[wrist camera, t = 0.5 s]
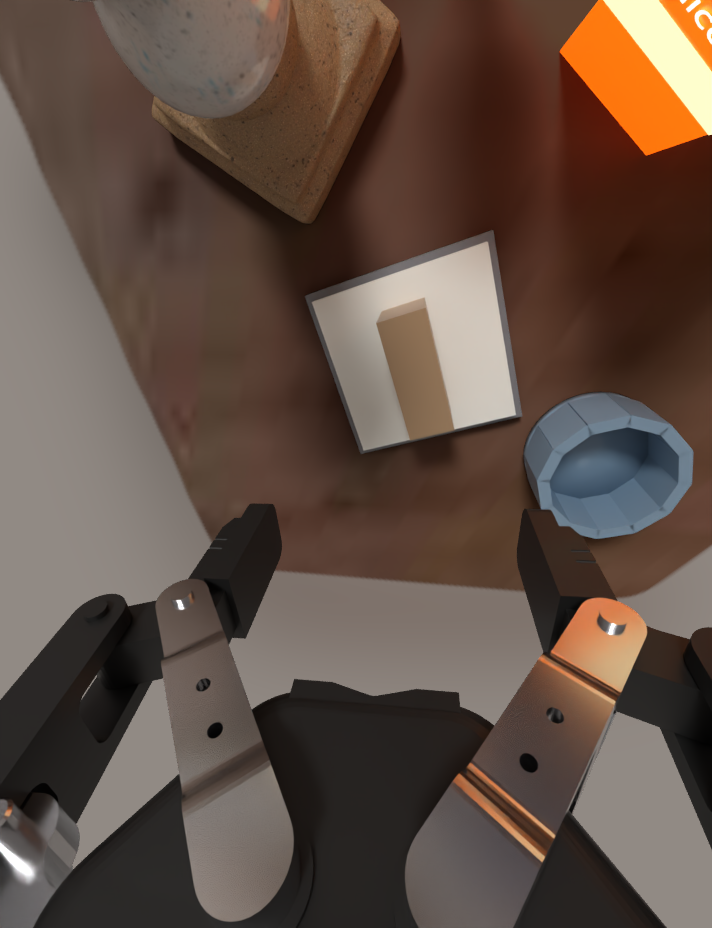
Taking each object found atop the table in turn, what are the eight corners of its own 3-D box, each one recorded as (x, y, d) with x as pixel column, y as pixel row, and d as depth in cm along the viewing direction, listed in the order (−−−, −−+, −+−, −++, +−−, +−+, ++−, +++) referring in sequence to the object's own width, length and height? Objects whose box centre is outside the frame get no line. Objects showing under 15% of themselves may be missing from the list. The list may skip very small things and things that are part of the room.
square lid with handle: (486, 241, 26) (500, 242, 22) (514, 411, 31) (530, 441, 27) (313, 301, 29) (295, 312, 25) (364, 447, 35) (356, 478, 30)
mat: (491, 230, 27) (493, 229, 26) (519, 412, 32) (522, 416, 32) (307, 294, 30) (304, 296, 29) (361, 449, 36) (360, 453, 35)
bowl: (654, 376, 30) (695, 401, 25) (655, 487, 34) (690, 524, 29) (515, 409, 32) (530, 437, 28) (531, 509, 36) (546, 546, 32)
